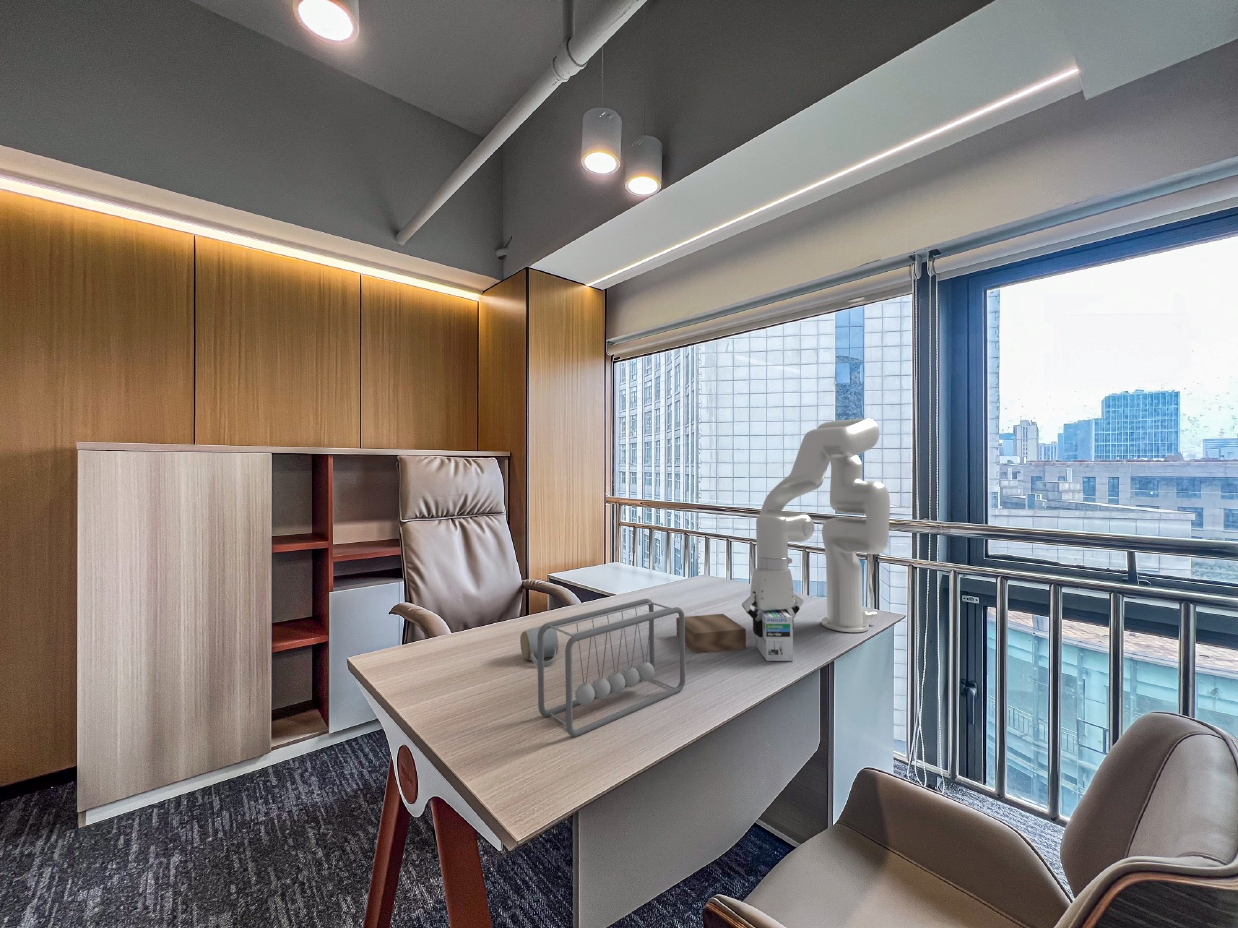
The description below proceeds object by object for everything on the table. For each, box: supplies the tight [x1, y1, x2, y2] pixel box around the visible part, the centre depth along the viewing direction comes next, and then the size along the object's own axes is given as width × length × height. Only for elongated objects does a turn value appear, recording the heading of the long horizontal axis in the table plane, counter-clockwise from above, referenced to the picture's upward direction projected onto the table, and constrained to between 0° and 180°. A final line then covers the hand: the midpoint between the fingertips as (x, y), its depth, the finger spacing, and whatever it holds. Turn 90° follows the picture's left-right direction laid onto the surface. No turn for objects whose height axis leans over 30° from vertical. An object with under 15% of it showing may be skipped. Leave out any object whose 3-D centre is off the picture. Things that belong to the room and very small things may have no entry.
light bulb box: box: [755, 610, 794, 662], centre depth 124 cm, size 11×7×11 cm, turn 179°
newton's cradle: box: [537, 598, 686, 738], centre depth 99 cm, size 30×10×18 cm, turn 130°
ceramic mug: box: [519, 625, 560, 668], centre depth 122 cm, size 11×8×8 cm
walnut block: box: [675, 613, 747, 654], centre depth 133 cm, size 14×14×5 cm
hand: (773, 633), depth 124 cm, fingers closed on light bulb box, 7 cm apart
